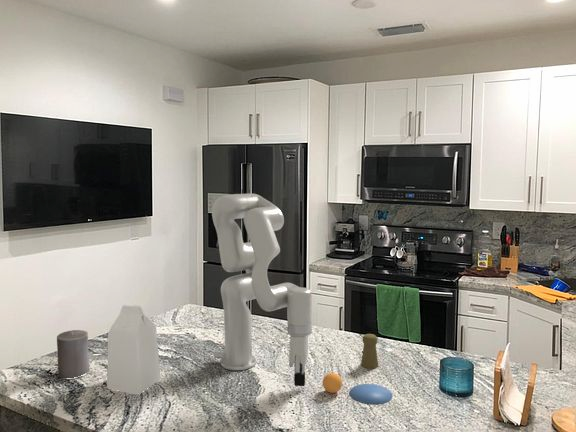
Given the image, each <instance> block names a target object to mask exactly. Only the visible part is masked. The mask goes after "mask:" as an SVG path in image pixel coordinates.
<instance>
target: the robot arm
mask: <svg viewBox="0 0 576 432" xmlns="http://www.w3.org/2000/svg"><path fill="white" fill-rule="evenodd" d="M211 216H212V217H211V218H212V221H213V225H214V227H215V231H216V234H217V235H216V236H217V243H218V251H219V256H220V257H219V258H220V263H221V267H222V268H223V270H224V271H225V272H227V273H235V272H241V271H245V273H242V274H241V273H240V274H237V275H233V276H230V277H227V278H226V279H224V280H223V281H222V283H221V286H220V295H221V300H222V305H223V320H224V322H223V323H224V324H223V325H224V327H223V328H224V329H223V332H224V349H222V350H219V349H217V350H215V349H214V350H213V357H214V358H215V359H220V366H221V367H222V368H224V369H226V370H229V371H245V370H248V369H252V368H253V367H254V366H256V364H257V358H256V357H255V356H254V355H253V354H252V353H253V351H252V350H253V347H252V345H253V344H252V342H253V340H252V339H253V338H252V337H253V336H252V328H253V327H252V313H251V310H250V309H249V307H248V305H247V302H249V301H252V300H256V301H257V304H258V306H259V307H260V308H261V309H262V310H263V311H265V312H273V311H277V310H280V309H283V308H287V312H286V313H287V317H286V318H287V322H286V323H287V334H288V335H290V336H289V351H288V352H289V355H288V359H289V360H288V366H289V368H293V367H294V373H293V374H294V375H293V378H294V380H293V381H294V382H293V383H294V386H296V387H304V386H305V385H306V371H305V370H306V363H307V361H308V355H309V354H308V352H309V336H310V335H311V334H313V333H312V332H313V331H312V330H313V328H312V327H313V325H312V324H313V323H312V322H313V321H312V315H313V314H312V313H313V311H312V310H313V308H312V307H313V303H312V302H313V301H312V300H313V297H312V296H313V295H312V291H311V290H310V288H307V287H302V286H298V285H297V284H294V283H292V282H283V283H279V284H278V283H277V284H275V285H270V283H269V282H270V281H269V278H268V268H269V265H270V264H271V262H272V260H274V258H276V257H277V256H278V255H279V254H280V252H281V247H280V244H279V242H278V239H277V236H276V233H275V231H276V232H277V231H279V230H281V229H282V228H283V226H284V224H285V218H284V214H283V212H282V211H281V210H280V208H279V207H278V206H276V205H275V204H273V203H272V202H271V201H269V200H267V199H266V198H264V197H263V196H261V195H260V194H256V193H233V194H226V195H225V194H224V195H222V196H220V197H218V198H217V199H216V200H215V201H214V203H213V206H212V209H211ZM237 219H243V224H244V227H245V230H246V233H247V236H248V240H249V242H244V240H243V239H244V238H243V233H242V229H241V228H240V226H239V225H238V224H237V222H236V221H235V220H237Z"/></svg>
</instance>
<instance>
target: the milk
mask: <svg viewBox="0 0 576 432" xmlns="http://www.w3.org/2000/svg"><path fill="white" fill-rule="evenodd" d="M160 367H161V366H160V357H159V345H158V334H157V326H156V324H155V323H154V322H153V321H152V320H151V319H149V317H148V316H146V315H145V314H144V311H143V308H142V306H141V305H135V304H134V305H133V304H126V303H125V304H123V305H122V306H121V309H120V312H119V315H118V316H117V317H116V318H115V320H114V322H113V323H112V324H111V326H110V328H109V331H108V333H107V369H106V370H107V372H106V375H107V379H106V380H107V381H106V389H107V388H108V389H113V390H119V391H123V392H128V393H127V394H129V393H133V394H132V395H134V394H141V393H142V392H143V391H145V390H146V389H147V388H149V387H150V386H152V385H153V384H154V383H156V382H157V381H159V380H160V379H161V380H162V377H161V368H160ZM161 380H160V381H161ZM160 381H159V382H160ZM157 383H158V382H157ZM157 383H156V384H157ZM153 386H154V385H153ZM153 386H152V387H153ZM150 388H151V387H150ZM150 388H149V389H150ZM146 391H147V390H146ZM146 391H145V392H146ZM123 392H122V393H123ZM143 393H144V392H143ZM143 393H142V394H143ZM142 394H141V395H142Z"/></svg>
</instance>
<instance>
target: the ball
mask: <svg viewBox="0 0 576 432" xmlns="http://www.w3.org/2000/svg"><path fill="white" fill-rule="evenodd" d="M322 386H323V389H324V390H325V391H326V392H328V393H330V394H335V393H337V392H339V391H340V390H341V388H342V386H343V380H342V378H341V376H340V374H338V373H336V372H328V373H326V374H325V375H324V377H323V378H322Z"/></svg>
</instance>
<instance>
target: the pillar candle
mask: <svg viewBox="0 0 576 432" xmlns="http://www.w3.org/2000/svg"><path fill="white" fill-rule="evenodd" d="M88 333H89V332H88V331H86V330H83V329H82V330H81V329H72V330H67V331H63V332H60V333H59V334H58V335H57V336H56V345H57V346H56V347H57V352H56V353H57V374H58V375H59V376H58V375H57V376H58V378H59V377H61V378H74V377H78V376H81V375H83V374H85V373H87V372H88V371H89V372H90V358H89V357H90V356H89V354H90V353H89V352H90V351H89V334H88ZM89 372H88V373H89ZM88 373H87V374H88ZM61 378H60V379H61Z"/></svg>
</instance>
